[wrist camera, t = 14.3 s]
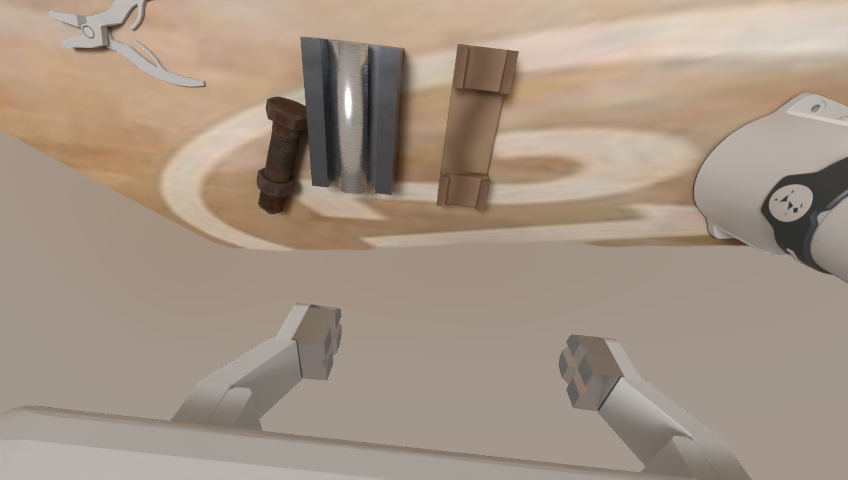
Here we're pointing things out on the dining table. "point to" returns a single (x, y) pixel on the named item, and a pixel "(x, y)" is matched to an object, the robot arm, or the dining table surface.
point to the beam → (473, 123)
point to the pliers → (101, 36)
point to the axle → (351, 114)
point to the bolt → (281, 152)
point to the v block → (380, 112)
